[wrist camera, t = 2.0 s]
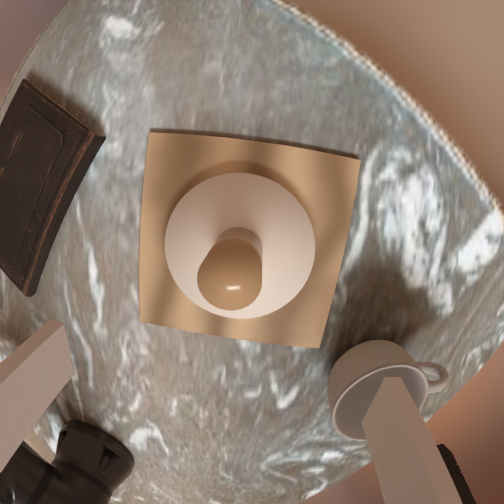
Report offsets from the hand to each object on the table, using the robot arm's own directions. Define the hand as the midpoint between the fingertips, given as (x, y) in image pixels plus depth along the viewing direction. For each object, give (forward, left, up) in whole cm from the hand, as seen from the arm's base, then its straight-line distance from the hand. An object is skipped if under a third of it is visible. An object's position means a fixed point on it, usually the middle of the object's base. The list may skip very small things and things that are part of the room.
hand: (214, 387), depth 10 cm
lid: (-1, 0, -19) cm, 19 cm away
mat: (-1, 0, -19) cm, 19 cm away
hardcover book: (-28, +4, -20) cm, 35 cm away
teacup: (+17, -12, -19) cm, 28 cm away
